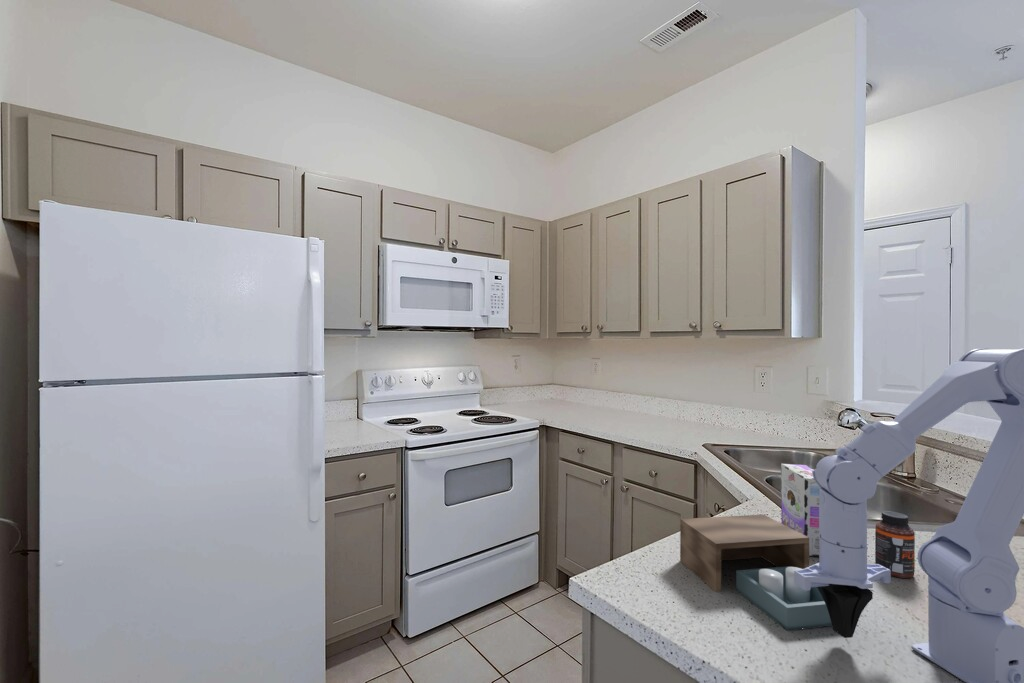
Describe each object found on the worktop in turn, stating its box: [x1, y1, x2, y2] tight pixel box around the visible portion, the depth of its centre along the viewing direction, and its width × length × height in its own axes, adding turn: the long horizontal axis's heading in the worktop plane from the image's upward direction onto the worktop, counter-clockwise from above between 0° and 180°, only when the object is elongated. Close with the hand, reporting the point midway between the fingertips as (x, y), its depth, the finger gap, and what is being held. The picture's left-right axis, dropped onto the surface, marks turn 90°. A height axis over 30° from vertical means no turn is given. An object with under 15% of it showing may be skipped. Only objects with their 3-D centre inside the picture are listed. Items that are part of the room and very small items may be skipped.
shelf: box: [679, 513, 810, 593], centre depth 89 cm, size 12×19×8 cm, turn 100°
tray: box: [735, 566, 832, 631], centre depth 77 cm, size 12×11×5 cm
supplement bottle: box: [874, 510, 916, 579], centre depth 89 cm, size 6×6×11 cm
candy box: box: [780, 463, 820, 558], centre depth 102 cm, size 14×6×16 cm, turn 168°
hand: (842, 633), depth 67 cm, fingers closed
